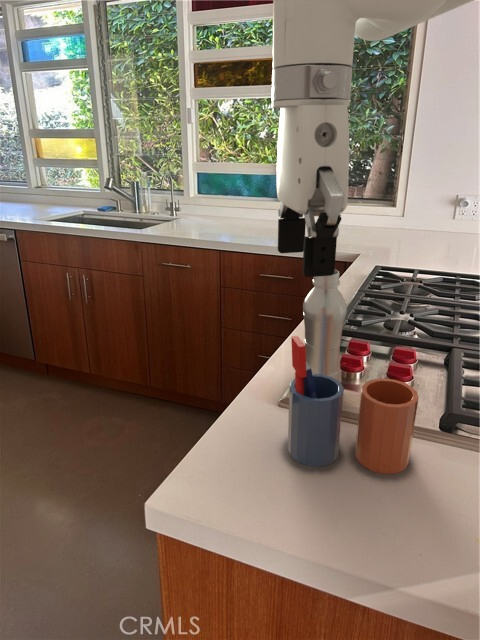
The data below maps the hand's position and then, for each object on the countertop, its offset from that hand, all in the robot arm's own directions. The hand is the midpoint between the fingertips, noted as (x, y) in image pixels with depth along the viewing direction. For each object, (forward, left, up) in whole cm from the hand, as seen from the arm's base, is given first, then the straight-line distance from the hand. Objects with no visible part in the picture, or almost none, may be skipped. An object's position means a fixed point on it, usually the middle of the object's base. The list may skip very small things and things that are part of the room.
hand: (303, 262), depth 51 cm
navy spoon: (-3, +1, -25) cm, 25 cm away
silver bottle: (-8, -13, -25) cm, 29 cm away
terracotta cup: (-10, +4, -25) cm, 27 cm away
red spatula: (0, +1, -25) cm, 25 cm away
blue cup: (-2, +1, -25) cm, 25 cm away
